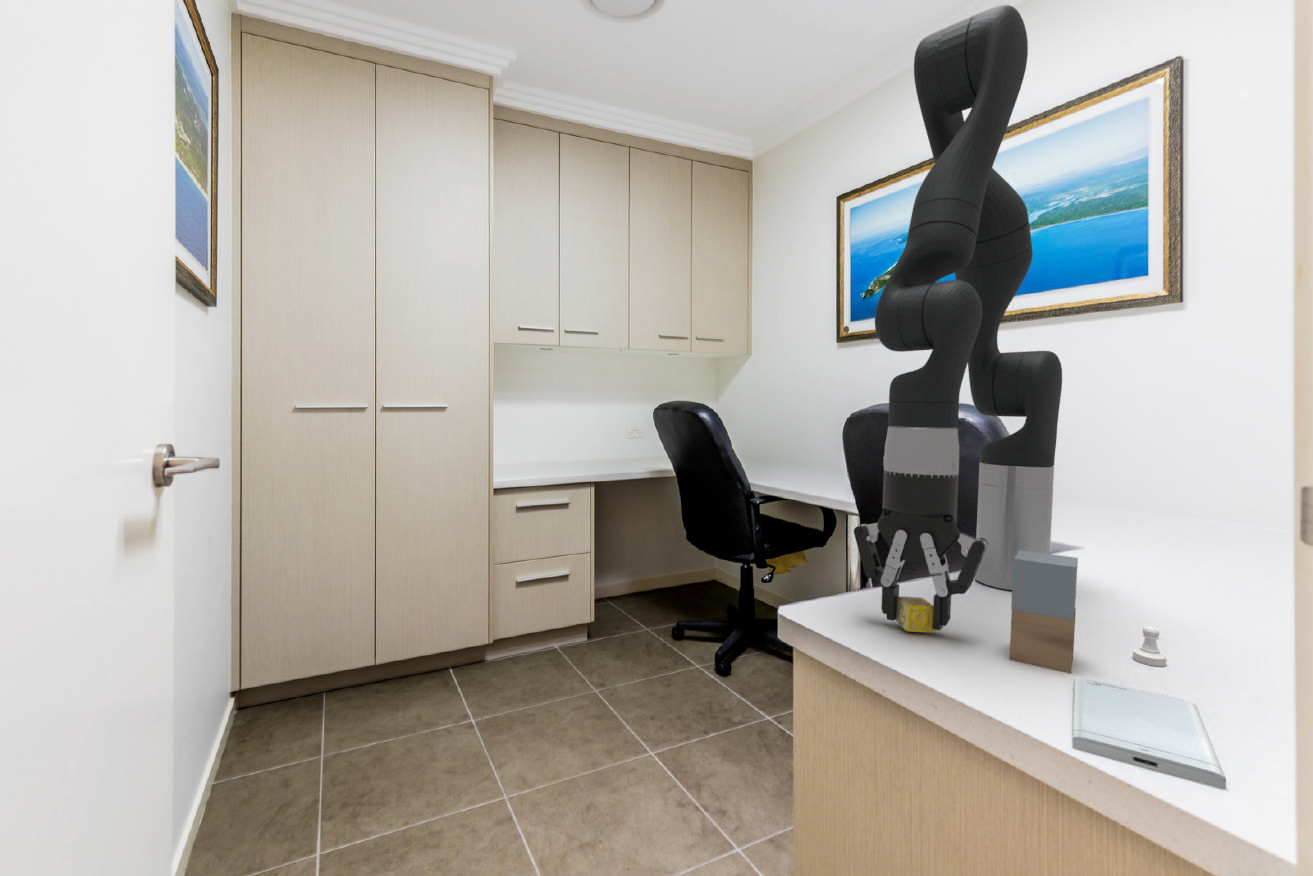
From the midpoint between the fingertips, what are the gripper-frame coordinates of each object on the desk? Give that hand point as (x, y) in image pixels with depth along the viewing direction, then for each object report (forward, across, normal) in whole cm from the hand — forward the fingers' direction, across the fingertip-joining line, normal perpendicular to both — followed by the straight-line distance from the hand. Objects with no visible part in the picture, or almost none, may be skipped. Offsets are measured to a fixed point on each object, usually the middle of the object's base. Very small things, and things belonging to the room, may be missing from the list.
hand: (914, 622), depth 68 cm
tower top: (-4, -12, 0) cm, 13 cm away
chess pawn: (+1, -21, -6) cm, 21 cm away
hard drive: (+2, -19, +12) cm, 23 cm away
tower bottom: (+1, -12, 0) cm, 12 cm away
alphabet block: (+1, 0, 0) cm, 1 cm away
